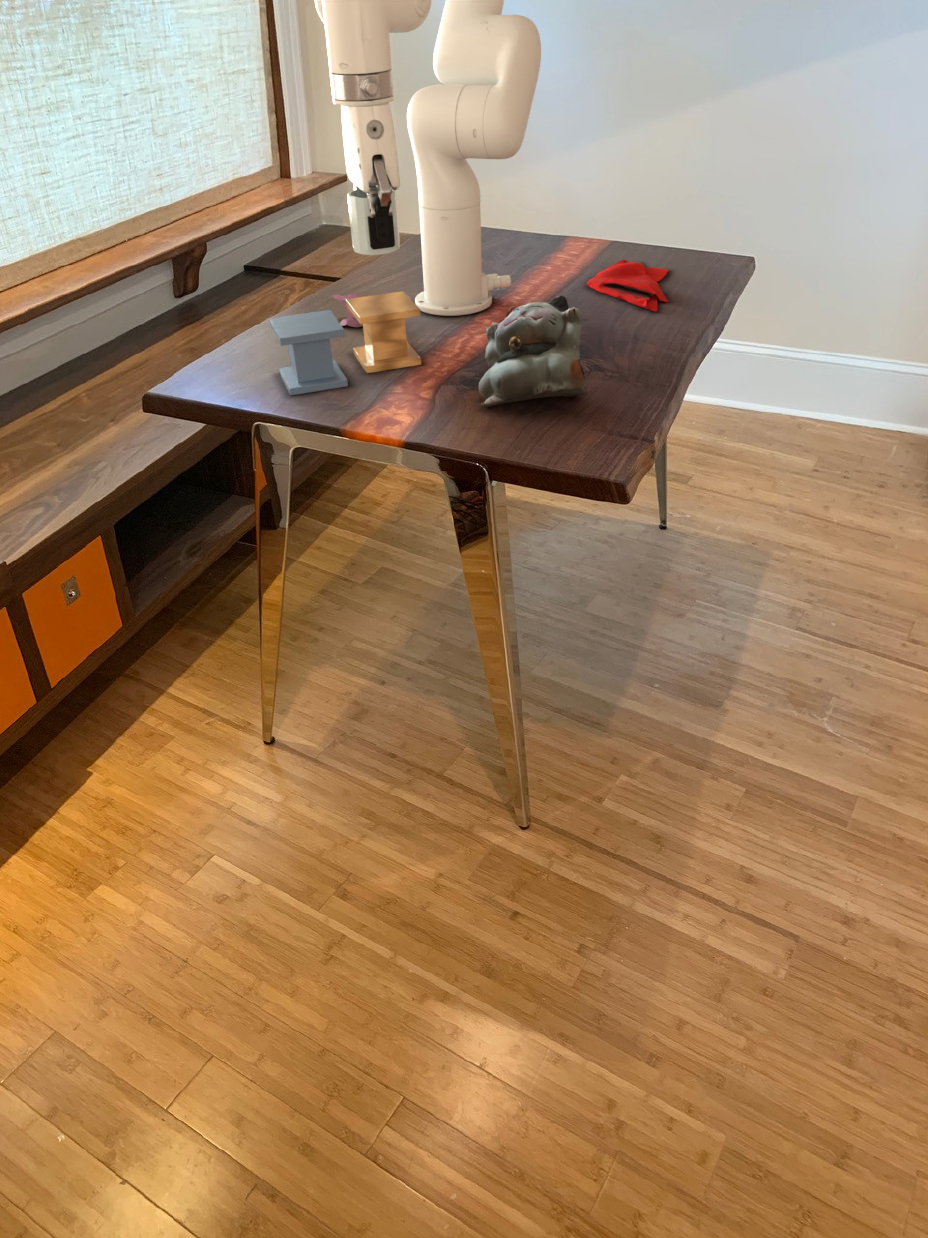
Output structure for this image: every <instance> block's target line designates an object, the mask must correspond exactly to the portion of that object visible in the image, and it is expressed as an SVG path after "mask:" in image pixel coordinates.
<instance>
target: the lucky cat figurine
mask: <svg viewBox="0 0 928 1238" xmlns="http://www.w3.org/2000/svg"><path fill="white" fill-rule="evenodd" d="M569 307H570V306H569V304H568V300H567V298H566V296H564V295H558V296H557V297H555V298H554V297H553V299H552V300H551V301H549V302H544V301H533V302H528V303H526V304H523V305H520V306H517V305H515V306H510V308H509V309H508V311H507V312H506V314H504V315H505V316H504V318H503V319H502V320H500V321H498V322H495V321H492V322H491V325H490V326H485V335H486V339H487V345H486V347H485V354H484V355H485V356H484V357H485V361H486V362H487V365H488V366H487V367H488V370H487V371H486V372H485V373H484V375H482V377H481V378H480V381H479V382H478V391H479V392H478V395H479V397H480V398H481V400H482V402H481V403H480V406H484V407H485V408H486V409H488V408H490V407H493V406H496V405H502V404H503V405H504V404H508V403H515V402H520V401H527V400H533V399H539V398H554V397H555V398H556V397H570V398H577V397H578V396H580V395H585V394H587V390H586V374H585V371H584V368H583V366H582V362H581V352H580V347H581V331H582V330H583V322H582V318H583V313H582V311H581V310H580V309H579V308H578V307H574V306H573V307H571V308H569Z"/></svg>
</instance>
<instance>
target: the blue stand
mask: <svg viewBox="0 0 928 1238" xmlns="http://www.w3.org/2000/svg"><path fill="white" fill-rule="evenodd" d="M268 320H269V321H268V322H269V326H270V328H271V329H272V332H273V334H274V335H275V337H276V339H277V342H278V343H279V345H280V346H281V347H284V346H287V349H288V355H289V362H290V366H285V367H279V368H278V371H279V375H280V378H281V379H282V382H283V383H284V385H285V388H286V389H287V392H288V394H289V396H296V395H303V394H308V393H315V392H321V391H328V390H332V389H341V388H346V387H348V386H349V380H348V378H347V376H346V375H345V374H344V372H343V370H342V369H341V367H340V366H339V364H338V362H337V361H336V359H333V356H332V355H333V354H332V347H331V340H330V339H336V338H342V337H343V338H344V337H345V336H346V335H345V328H344V327H343V326H341V324H340V321H339V319H337V317H336V315H335V314H334V313H333V312H332V310H331V309H326V310H325V309H324V310H318V311H317V310H316V311H311V312H304V313H299V314H298V313H296V314H289V315H283V316H277V317H276V316H275V317H270V318H268Z"/></svg>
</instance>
